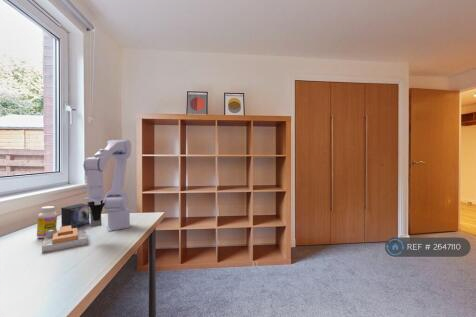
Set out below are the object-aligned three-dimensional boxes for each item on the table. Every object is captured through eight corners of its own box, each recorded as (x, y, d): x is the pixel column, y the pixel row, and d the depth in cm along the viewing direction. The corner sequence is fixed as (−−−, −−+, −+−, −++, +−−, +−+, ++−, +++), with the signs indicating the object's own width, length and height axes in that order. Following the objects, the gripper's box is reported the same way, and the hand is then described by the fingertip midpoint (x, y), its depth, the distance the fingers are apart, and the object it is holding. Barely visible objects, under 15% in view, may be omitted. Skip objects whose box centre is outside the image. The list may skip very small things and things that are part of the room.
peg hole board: (85, 234, 106) (84, 223, 106) (87, 244, 95) (86, 231, 95) (45, 241, 98) (44, 229, 98) (42, 253, 86) (41, 239, 86)
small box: (70, 230, 113) (69, 208, 113) (60, 228, 115) (60, 207, 115) (90, 223, 123) (89, 203, 123) (81, 222, 125) (80, 203, 125)
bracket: (76, 227, 108) (76, 224, 108) (77, 238, 94) (77, 235, 94) (54, 231, 104) (54, 227, 103) (52, 243, 89) (52, 239, 89)
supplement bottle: (42, 239, 100) (43, 209, 100) (33, 237, 102) (34, 207, 103) (59, 235, 106) (60, 206, 106) (50, 232, 109) (51, 205, 109)
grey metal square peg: (100, 223, 99) (99, 204, 99) (101, 225, 96) (100, 206, 96) (90, 225, 97) (89, 206, 97) (91, 227, 94) (90, 207, 94)
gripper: (82, 185, 100) (83, 217, 100) (85, 189, 88) (86, 225, 89) (101, 184, 104) (102, 214, 104) (106, 187, 92) (107, 222, 93)
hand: (96, 219), depth 97 cm, fingers closed on grey metal square peg, 3 cm apart
